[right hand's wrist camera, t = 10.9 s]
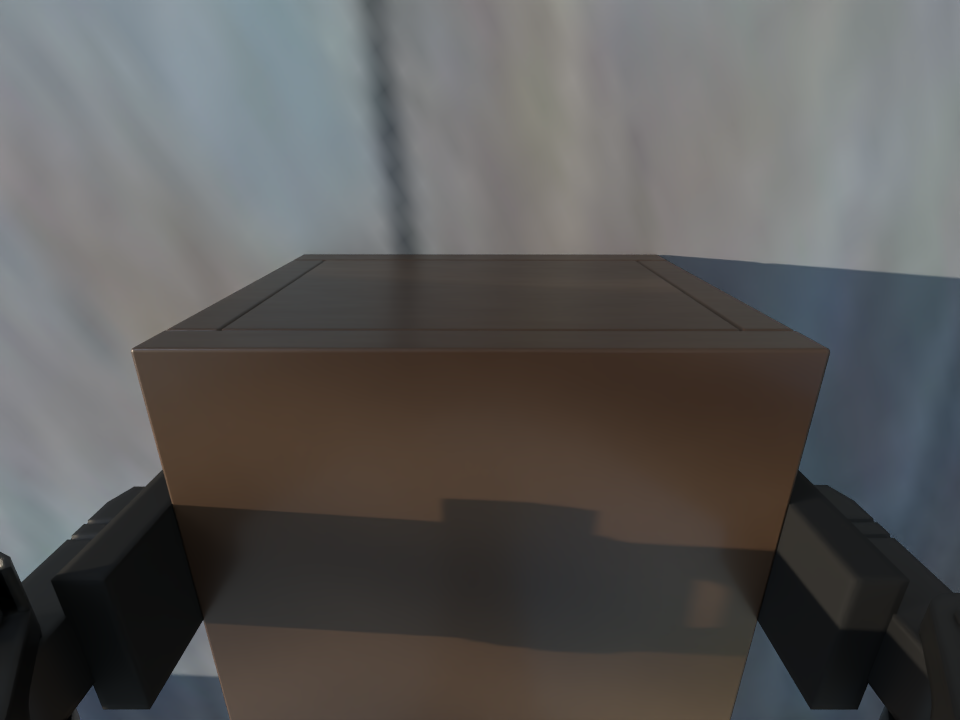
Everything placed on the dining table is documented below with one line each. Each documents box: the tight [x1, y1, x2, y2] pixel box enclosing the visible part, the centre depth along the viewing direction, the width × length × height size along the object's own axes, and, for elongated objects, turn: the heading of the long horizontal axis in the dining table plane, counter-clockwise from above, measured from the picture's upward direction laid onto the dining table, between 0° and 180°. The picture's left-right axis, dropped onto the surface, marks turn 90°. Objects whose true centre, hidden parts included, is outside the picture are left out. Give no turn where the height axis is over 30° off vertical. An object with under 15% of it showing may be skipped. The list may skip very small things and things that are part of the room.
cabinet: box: [131, 255, 830, 720], centre depth 15 cm, size 22×11×8 cm, turn 0°
